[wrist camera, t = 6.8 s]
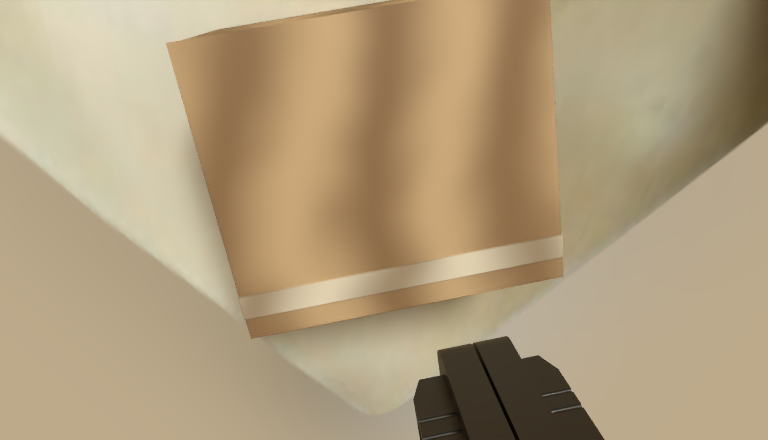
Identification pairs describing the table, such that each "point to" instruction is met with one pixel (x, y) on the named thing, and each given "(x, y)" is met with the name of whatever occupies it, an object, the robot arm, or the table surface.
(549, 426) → the robot arm
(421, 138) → the lid
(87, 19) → the table surface
